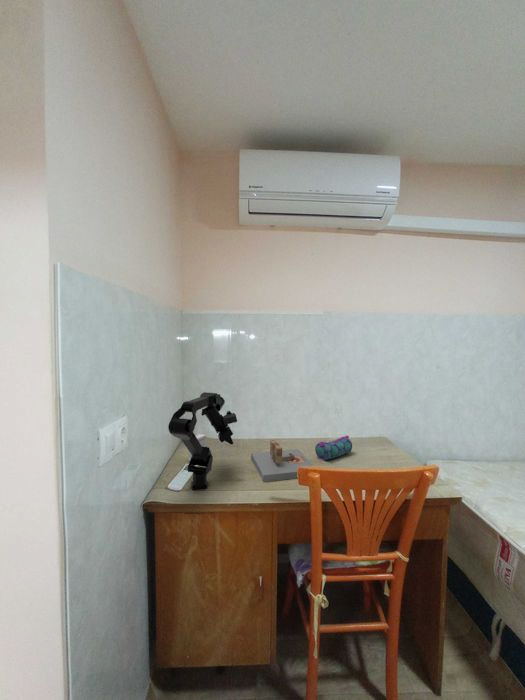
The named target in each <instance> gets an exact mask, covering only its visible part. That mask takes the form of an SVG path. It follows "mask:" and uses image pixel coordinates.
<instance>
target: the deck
mask: <svg viewBox="0 0 525 700" xmlns="http://www.w3.org/2000/svg"><path fill="white" fill-rule="evenodd" d="M290 453H292V454H293V455H294V460H296V462H293V461H291V459H287V460H282V463H278V464H277V463H276V462H275V460H274V459H273V457H272V456H271V455H270V450H269V451H259V452H258V451H257V452H251V453H250V459H251V461H252V463H253V465H254V467H255V469H256V471H257V473H258V475H259V477H260V479H261V480H262V483H266V482H267V481H268V482H275V481H274V480H277V481H284V480H283V479H286V480H291V479H293V480H294V479H298V478H297V468H298V466H315V465H314V463H312V462H311V461H310V460H309V459H308V457H306V456H305V455H304V453H303V452H302V451H300V449H299V448H295V449H284V450H283V449H282V456H283V455H289V454H290Z"/></svg>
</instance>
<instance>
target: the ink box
mask: <svg viewBox="0 0 525 700" xmlns="http://www.w3.org/2000/svg"><path fill="white" fill-rule="evenodd" d="M195 436H196V438H197V439H198V441H199V443H200V444H201V446H202V447H208V446H207V436H208V435H207V434H203V433H198V434H196V435H195ZM187 450H188V449H187ZM187 452H188V453H187V454H188V456H187V458H188V462H190V460H191V456H192V455H191V453H190V452H189V450H188V451H187Z"/></svg>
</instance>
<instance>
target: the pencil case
mask: <svg viewBox="0 0 525 700" xmlns="http://www.w3.org/2000/svg"><path fill="white" fill-rule="evenodd" d="M349 438H350V435H345V436H341V437H339V438H337V439H334V440H331V441H319V442H318V443H316V445H315V447H314V450H315V454H316V456H317V458H318V459H319V458H320V460H321V459H323V460H322V461H326V460H331V459H335V457H336V458H338V457H340V456H343V455H345V454H349V453H351V451H352V450H353V443H352V440H350V439H349Z"/></svg>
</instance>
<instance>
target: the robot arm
mask: <svg viewBox="0 0 525 700" xmlns="http://www.w3.org/2000/svg"><path fill="white" fill-rule="evenodd" d="M225 402H226V400H225V399H224V398H223V397H222V396H221V394H220V393H217V392H207V391H205V392H202V393H200V395H199V397H196V398H193V399H191V400H187V401H183V403H182V404H181V406H180V408H179V409H177V410H176V411H175V412H174V413H173V415H172V416H171V418H170V421H169V423H168V426H167V427H168V432H169V434H170V435H172V436H173V437H175V438H177V439H180V441H181V442H182V443H183V444H184V446H185V447H186V448H187V450H189V452H190V453H191V455H192V456H191V460H190V461H188V462H189V463H188V465H187V472H188V473H192V480H191V482H190V483H191V490H192V491H196V490H204V489H208V488H209V486H208V479H207V476H208V474H209V473H210V472H211V470H212V465H213V461H214V460H213V459H214V458H213V454H212V450H210V447H208V446H207V447H202V446H201V444H200V443H199V441H198V439H197V438H196V435H195V433H194V430H195V427H196V425H197V422H198V420H197V415H196V414H197V412H198V411H199V410H201V416H205V417H206V418H207V420H208V421H209V423H210V425H211V427H213V429H214V430H215V432H216V434H217V438H218V440H219V441H220V443H223V442H226V443H228V444H230V445H234V440H233V439H232V436H233V435H234V432H233V431H232V429H231V427H230V426H229V425H230V424H233V423H235V424H236V423H237V422H238V418H237V414H236V412H235V413H234V412H231V411H230V410H227V411H226V414H225V415H222V414H221V413H220V411H221V410H222V408H223V407H224V405H225ZM185 413H191V415H192V417H191V418H181V417H183V415H185Z"/></svg>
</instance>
